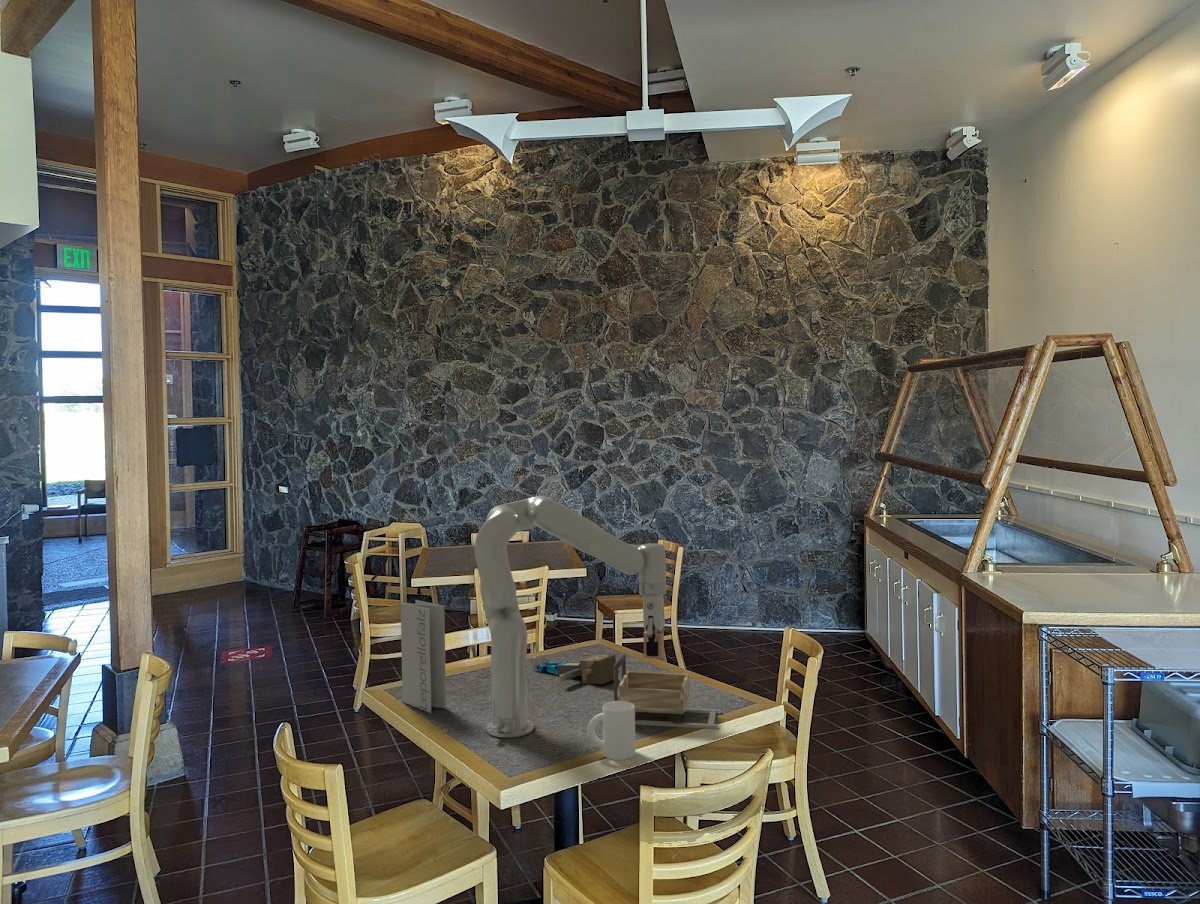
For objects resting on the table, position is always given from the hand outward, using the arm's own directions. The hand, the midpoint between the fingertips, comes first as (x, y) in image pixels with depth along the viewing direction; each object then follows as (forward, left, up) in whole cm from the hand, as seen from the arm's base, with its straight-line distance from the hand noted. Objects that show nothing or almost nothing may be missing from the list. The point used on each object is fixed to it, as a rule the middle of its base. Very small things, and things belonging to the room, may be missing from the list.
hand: (653, 652), depth 228 cm
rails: (0, -5, -18) cm, 19 cm away
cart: (0, +1, -17) cm, 17 cm away
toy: (+35, +32, -19) cm, 51 cm away
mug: (-28, +7, -18) cm, 34 cm away
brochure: (-1, +69, -18) cm, 71 cm away
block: (0, 0, -1) cm, 1 cm away
